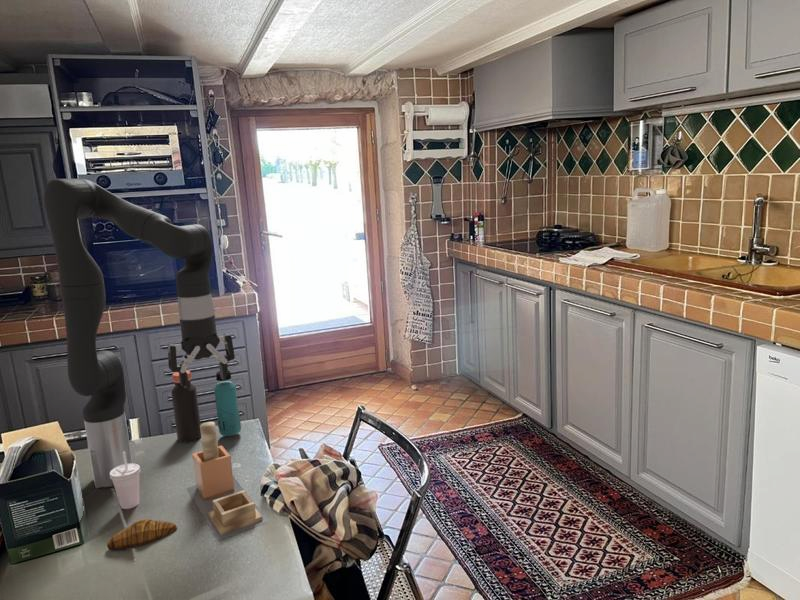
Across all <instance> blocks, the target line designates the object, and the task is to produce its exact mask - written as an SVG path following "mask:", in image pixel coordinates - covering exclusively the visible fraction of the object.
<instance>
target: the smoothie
mask: <svg viewBox="0 0 800 600" xmlns="http://www.w3.org/2000/svg"><path fill="white" fill-rule="evenodd" d="M123 457H124V465H120V466H118V467H116V468H114V469H112V470H111V471H110V479H112V481H113V483H112V484H113V488H114V490H115V492H116V493H115V494H116V496H117V499H118V502H119V504H120V508H121V509H124V510H129V509H133V508H135V507H136V506H139V504H140V473H141V466H140V465H139V464H138V463H135V462H134V463H129V464H127V459H126V452H123Z"/></svg>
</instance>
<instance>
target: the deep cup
mask: <svg viewBox="0 0 800 600" xmlns="http://www.w3.org/2000/svg"><path fill="white" fill-rule="evenodd" d="M218 451H219V458H216V459H213V460H209V461H206V462H204V454H203V450H201V451H197V452H194V453H192V454H191V455H192V462H193V470H194V478H195V483H196V484H195V486H197V489H198V491H199V492H200V494H201V496H202V497H203V499H204V500H208V499H211V498H214V497H217V496H220V495H223V494H226V493H229V492H232V491H234V482H233V476H234V475H233V473H234V472H233V468H232V458H231V455H230V453H229V452H228V451H227V450H226V449H225V447H224V446H223V445H222V444H221V445H218Z"/></svg>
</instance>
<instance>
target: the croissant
mask: <svg viewBox="0 0 800 600" xmlns="http://www.w3.org/2000/svg"><path fill="white" fill-rule="evenodd" d="M177 530H178V527H177V525H176V524H175V523H173V522H171V521H164V520H154V519H150V518H148V519H139V520H137V521H135V522H133V523H132V524H130V525H129V526H128V527H126V528H124V529H122V530H120V531H119V532H117V533H115V534H114V535H113V536H112V537H111V538H109V540H107V545H106V546H107V549H108V550H109V551H123V550H129V549H134V548H135V549H136V547H137V546H140V545H141V546H142V545H145V544H148V543H151V542H154V541H156V540H159V539H162V538H164V537H166V536H168V535H170V534H173V533H174V532H176V531H177Z"/></svg>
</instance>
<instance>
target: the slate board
mask: <svg viewBox="0 0 800 600" xmlns="http://www.w3.org/2000/svg"><path fill="white" fill-rule="evenodd" d="M233 482H234V491H232V492H229V493H226V494H223V495H220V496H217V497H214V498H211V499H208V500H204V499H203V497H202V496H201V494H200V492H199V491H198V489H197V486H196V485H192V486H190V487H187V488H186V489H187V491H188V493H189V494H190V496H191V498H192V500H193V501H194V503H195V505H196V506H197V508H198V509H199V511H200V513H201V515H202V517H203V518H204V520H205V521H206V523H207V524H208V526H209V528H210V530H211V531H212V533H213V535H214V536H215V538H216V539H217V541H218V542H219V541H222V540H224V539H227V538H230V537H232V536H236V535H237V534H240V533H243V532H246V531H248V530H251V529H254V528H257V527H259V526H261V525H265V524H266V523H269V522H270V520H269V519H268V517H267V516H266V515H265V514H264V513H263V512H262V511H261V509H260V508H259V507H258V505H257V504H256V503H255V502H254V500H253V499H252V498H251V496H250V495H249V494H248V493H247V491H245V489H244V488H243V486H242V485H241V484H240V483H239V481H238V480H237V479H236V478H235V476H234V475H233ZM243 490H244V491H245V492H246V493H247V495H248V496H249V497H250V498H251V500H252V501H253V502H254V503H255V508H256V509H257V511H258V512H259V513H260V514H261V516H262V520H261V521H258V522H255V523H253V524H250V525H247V526H245V527H242V528H239V529H236V530H234V531H231V532H228V533H226V534H223V535H220V533H219V531H218V530H217V528H216V527H215V525H214V523H213V522H212V520H211V518H210V517H209V513H208V512H211V511H214V507H213V500H216V499H219V498H222V497H225V496H228V495H231V494H234V493H237V492H240V491H243Z"/></svg>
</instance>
